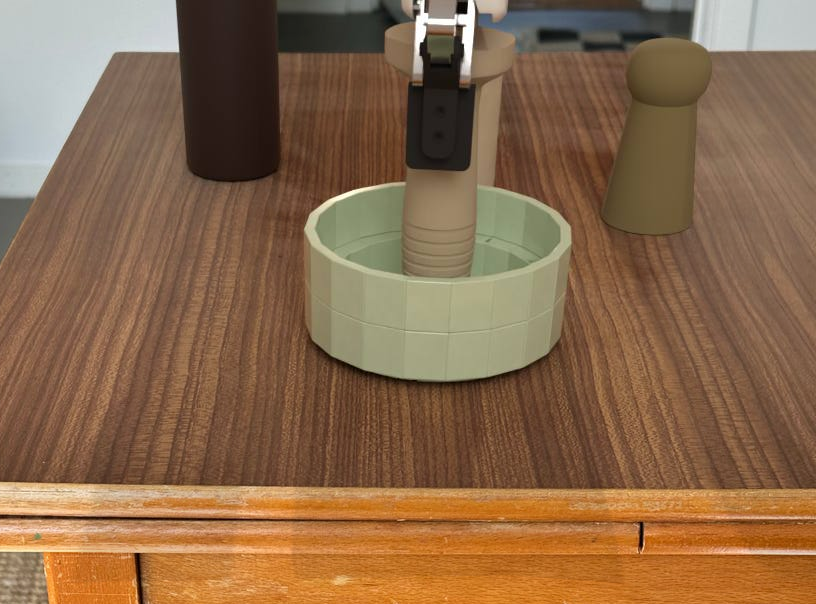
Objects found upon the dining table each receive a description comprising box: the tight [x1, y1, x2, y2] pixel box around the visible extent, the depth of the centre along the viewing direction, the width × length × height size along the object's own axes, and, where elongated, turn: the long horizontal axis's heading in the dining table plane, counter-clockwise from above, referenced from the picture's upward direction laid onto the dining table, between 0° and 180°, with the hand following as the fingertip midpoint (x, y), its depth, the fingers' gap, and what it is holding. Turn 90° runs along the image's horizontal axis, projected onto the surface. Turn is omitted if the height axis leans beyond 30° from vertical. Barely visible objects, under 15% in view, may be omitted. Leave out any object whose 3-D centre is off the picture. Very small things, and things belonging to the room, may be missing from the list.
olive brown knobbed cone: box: [600, 37, 713, 236], centre depth 85 cm, size 6×6×11 cm
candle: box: [477, 74, 504, 187], centre depth 88 cm, size 6×6×10 cm
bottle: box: [175, 0, 282, 182], centre depth 89 cm, size 7×7×20 cm
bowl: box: [303, 181, 573, 383], centre depth 73 cm, size 14×14×6 cm
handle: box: [384, 21, 517, 278], centre depth 69 cm, size 5×6×15 cm
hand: (442, 142), depth 68 cm, fingers open, 5 cm apart
